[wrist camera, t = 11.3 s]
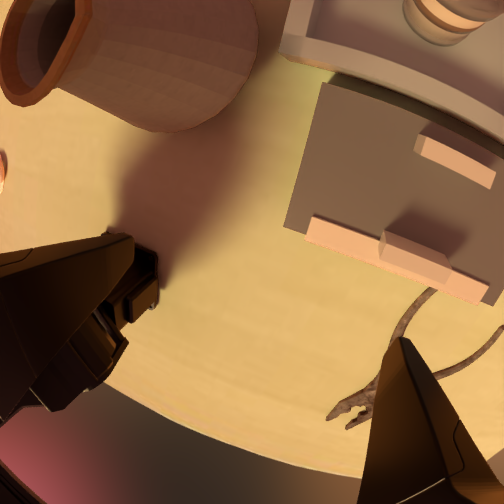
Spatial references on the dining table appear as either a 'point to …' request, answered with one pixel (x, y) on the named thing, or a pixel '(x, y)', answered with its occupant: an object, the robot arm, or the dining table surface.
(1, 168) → the teacup and saucer
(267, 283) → the dining table surface
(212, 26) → the coffee pot
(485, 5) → the cylinder
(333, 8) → the tray
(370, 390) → the pliers
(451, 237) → the fuse panel
